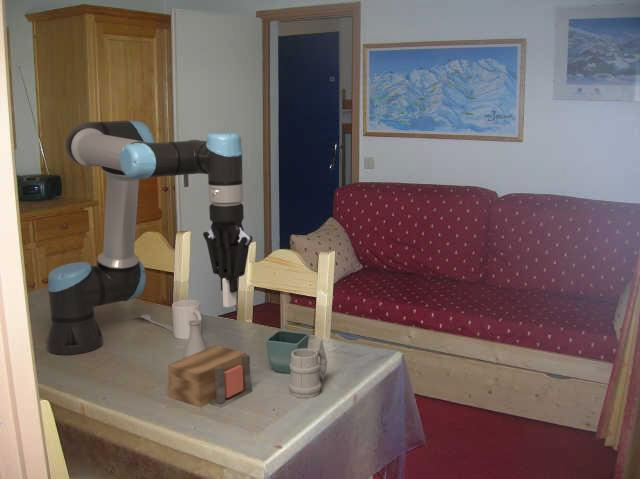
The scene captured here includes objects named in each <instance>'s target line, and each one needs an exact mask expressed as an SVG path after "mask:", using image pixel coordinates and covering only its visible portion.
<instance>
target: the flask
mask: <svg viewBox="0 0 640 479" xmlns="http://www.w3.org/2000/svg"><path fill="white" fill-rule="evenodd" d="M200 322H201V323H202V320H201V321H200V320H191V321H189V325H190V335H189V339H187V343H186V346H185V349H184V353H183V357H182V359H184V358H186V357H188V356H191V355H193V354H196V353H198V352H201V351H203V350H205V349H208V347H207V344H206V342H205V340H204V338H203V335H202V330H201V331H200Z"/></svg>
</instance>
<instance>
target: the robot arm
mask: <svg viewBox="0 0 640 479" xmlns="http://www.w3.org/2000/svg"><path fill="white" fill-rule="evenodd" d="M241 138H242V137H241V135H240V134H239V133H237V132H211V133H208V134H207V136H206V140H200V139H197V138H196V139H186V140H184V141H183V140H182V141H167V142H166V141H165V142H164V141H163V142H155V140H154V137H153V134H152V132H151V130H150V128H149V127H148V126H147V124H145V123H144V122H142V121H137V120H129V119H127V120H113V121H109V120H108V121H89V122H83V123H80V124H79V125H76V126H75V127H74V128H72V129H71V130H70V131H69V132H68V134H67V135H66V139H65V143H64V145H65V146H64V147H65V151H66V153H67V155H68V158H70V160H71V161H73V162H74V163H75V164H77V165H80V166H83V167H89V168H90V167H101V170H102V171H103V173H105V175H106V184H105V185H106V186H105V188H106V189H105V207H104V208H105V209H104V226H103V227H104V228H103V230H104V231H103V245H102V246H103V248H102V250H103V251H102V252H101V253H100V254H98V255H97V258H96V259H97V260H96V265H92V264H91V263H89V262H86V261H78V262H70V263H67V264H62V265H60V266H58V267H55V268H53V269H52V270H51V271H50V272H49V273H48V276H47V283H48V284H47V285H48V286H47V290H48V296H49V307H50V317H51V318H50V320H51V323H50V327H49V331H48V335H47V339H46V350H47V352H49V353H51V354H55V355H62V356H65V355H68V356H69V355H79V354H84V353H88V352H91V351H94V350H97V349H99V348H100V347H101V346H102V345H103V344H104V339H103V338H104V337H103V333H102V331H101V329H100V326H99V324H98V321H97V319H96V317H95V314H96V313H95V308H96V307H100V306H105V305H110V304H115V303H119V302H127V301H129V300H133V299H136V298H138V297H139V296H141V295H142V293H143V291H144V289H145V287H146V283H147V282H146V281H147V275H146V273H145V272H146V269H145V266H144V264H143V263H142V261H141V260H140V259H139V256H137V254H136V253H135V242H136V226H137V214H138V212H137V211H138V199H139V198H138V197H139V196H138V195H139V185H140V184H139V183H140V182H139V181H140V180H146V179H147V178H149V179H150V178H160V177H172V176H183V175H186V176H187V175H198V174H201V175H202V174H203V175H207V178H208V179H207V181H208V198H209V202H210V203H211V204H210V205H209V208H208V210H209V212H208V213H209V220H210V222H212V223H211V225H210V229H209V230H207V231H204V232H203V233H202V236H203V238H204V240H205V242H206V246H207V251H208V254H209V259H210V264H211V269H212V273H213V274H214V275H218V277H219V278H220V291H221V292H222V304H223V307H225V308H230V307H234V306H236V305H237V294H236V293H237V292H238V290H239V289H238V278H240V277H242V276H245V273H246V267H247V261H248V255H249V250H250V245H251V243H252V241H253V236H251V235H247V234H246V232H245V231H244V227H243V220H244V219H245V217H244V216H245V214H244V204H243V203H242V202H243V201H244V186H243V185H244V184H243V151H244V150H243V149H242V148H243V147H242V139H241Z"/></svg>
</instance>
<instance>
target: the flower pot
mask: <svg viewBox="0 0 640 479" xmlns="http://www.w3.org/2000/svg"><path fill="white" fill-rule="evenodd" d="M309 338H310V334H309V333H305V332H297V331H296V332H295V331H289V330H277V331H276V332H274V333H273V334H272V335H271V336H269V337H268V338H267V339H266V340H265V346H266V353H267V358H268V361H269V363H270V365H271V367H272V369H273V371H274V372H277V373H283V374H284V373H285V374H290V375H291V370H290V363H291V353H292V352H293V351H294V350H297V349H304V348H307V349H309V348H308V347H309Z"/></svg>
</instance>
